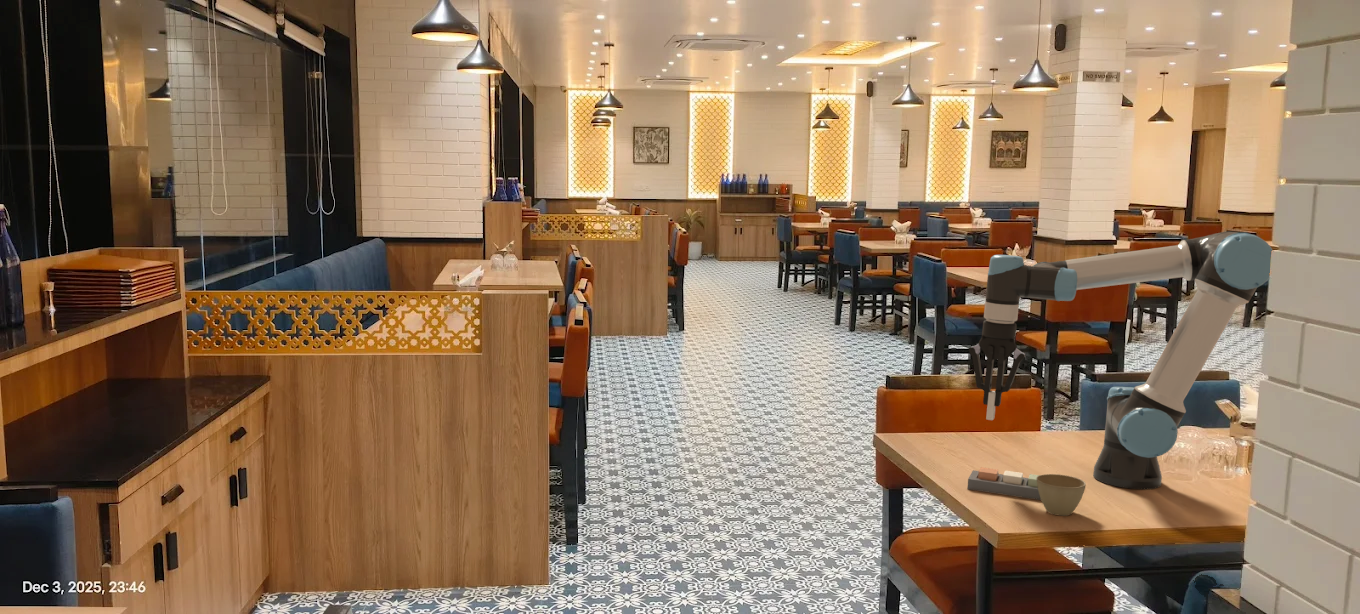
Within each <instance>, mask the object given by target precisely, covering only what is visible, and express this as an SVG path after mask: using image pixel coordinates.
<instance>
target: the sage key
mask: <svg viewBox="0 0 1360 614" xmlns="http://www.w3.org/2000/svg"><path fill="white" fill-rule="evenodd" d="M1039 475H1040V474H1032V473H1029V476H1028V477H1027V478H1028V486H1033V487H1038V486H1037V477H1038V476H1039Z"/></svg>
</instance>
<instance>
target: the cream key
mask: <svg viewBox="0 0 1360 614" xmlns="http://www.w3.org/2000/svg"><path fill="white" fill-rule="evenodd" d="M1023 477H1024V472H1018V471H1017V472H1016V471H1012V470H1004V473H1003V482H1005V483H1012V484H1019V485H1022V480H1023Z"/></svg>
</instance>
